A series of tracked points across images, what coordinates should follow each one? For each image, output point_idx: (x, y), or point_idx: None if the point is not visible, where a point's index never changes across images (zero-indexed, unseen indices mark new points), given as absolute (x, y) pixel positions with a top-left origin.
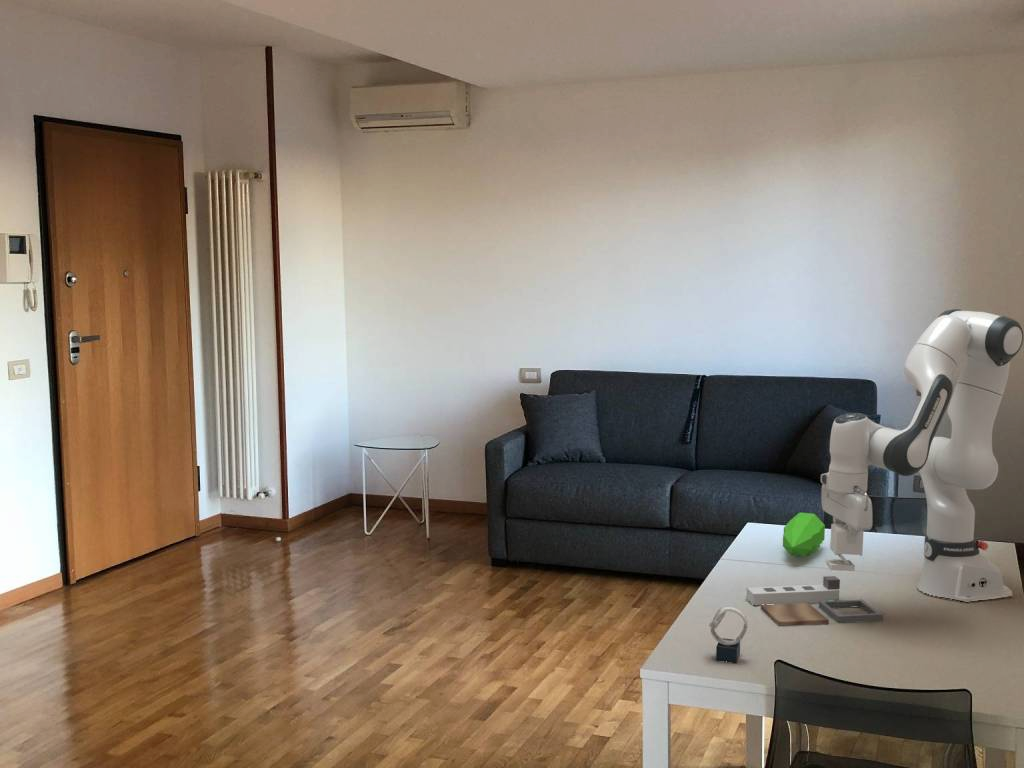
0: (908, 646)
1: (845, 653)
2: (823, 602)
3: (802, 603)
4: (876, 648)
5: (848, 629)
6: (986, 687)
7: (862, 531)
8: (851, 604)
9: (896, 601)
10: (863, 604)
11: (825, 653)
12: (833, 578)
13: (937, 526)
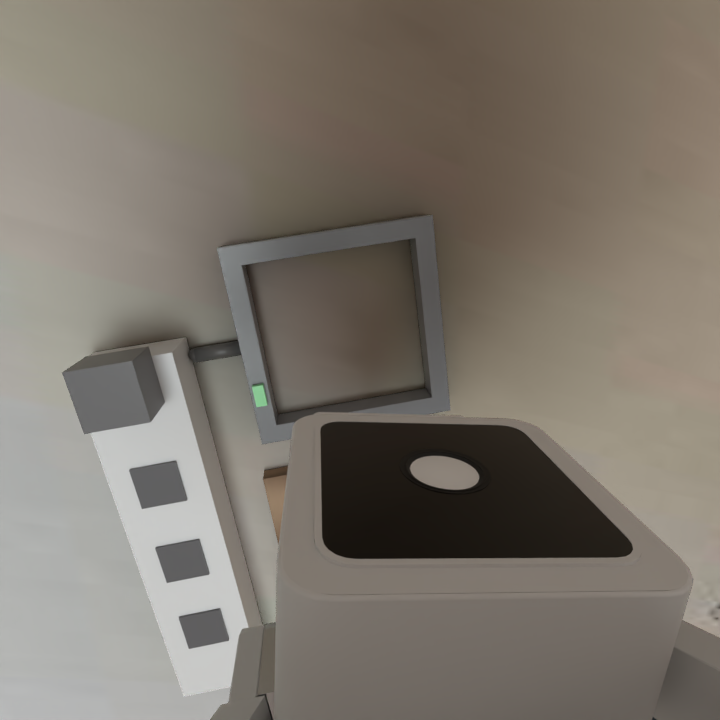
0: (704, 207)
1: (715, 439)
2: (278, 429)
3: (270, 500)
4: (697, 331)
5: (513, 379)
6: None
7: (689, 586)
8: (252, 302)
9: (133, 33)
10: (281, 258)
11: (702, 494)
12: (114, 390)
13: None
